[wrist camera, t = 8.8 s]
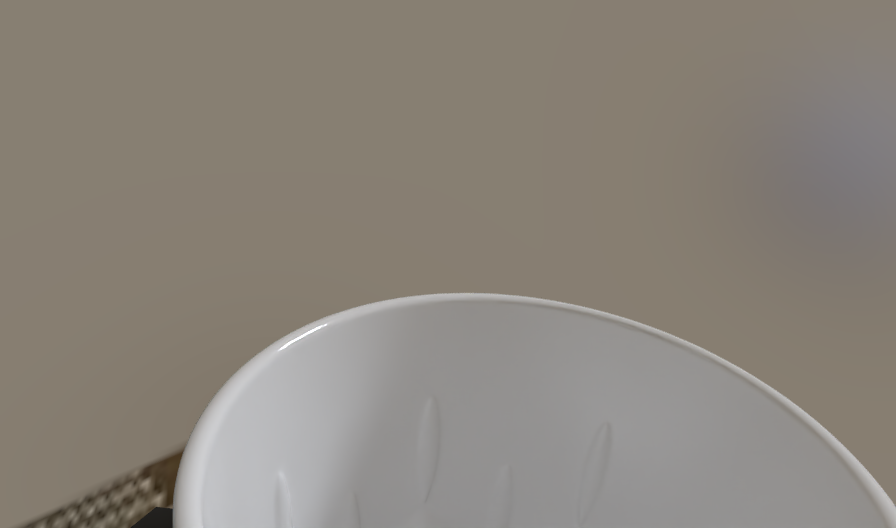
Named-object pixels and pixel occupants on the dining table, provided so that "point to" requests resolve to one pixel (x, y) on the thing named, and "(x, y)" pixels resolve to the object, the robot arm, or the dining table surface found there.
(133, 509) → the dining table surface
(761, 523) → the white cup
